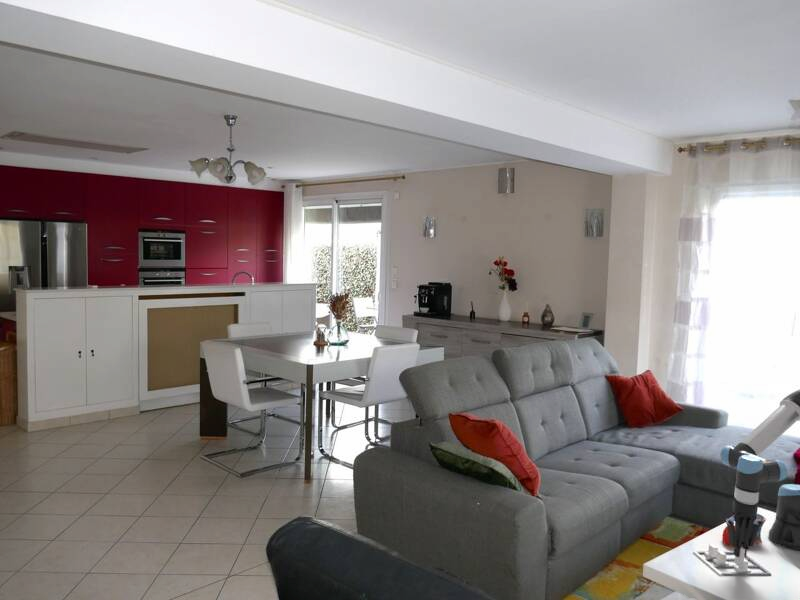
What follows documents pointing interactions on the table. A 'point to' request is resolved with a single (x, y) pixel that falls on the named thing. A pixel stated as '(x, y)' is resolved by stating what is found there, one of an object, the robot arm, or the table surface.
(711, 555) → the tab
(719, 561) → the tab
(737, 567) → the tab
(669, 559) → the table surface
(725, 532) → the tomato
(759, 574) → the switch bank
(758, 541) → the mug
